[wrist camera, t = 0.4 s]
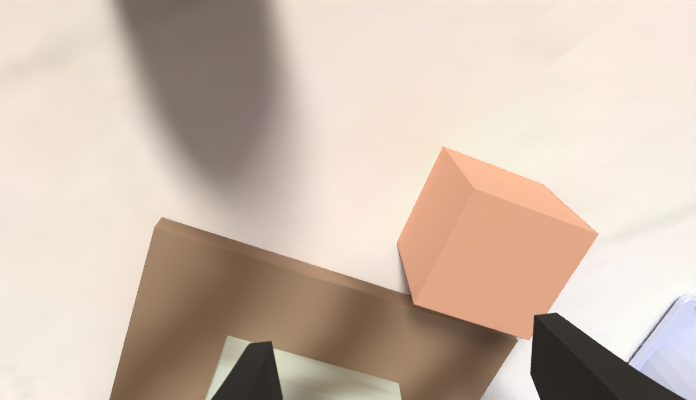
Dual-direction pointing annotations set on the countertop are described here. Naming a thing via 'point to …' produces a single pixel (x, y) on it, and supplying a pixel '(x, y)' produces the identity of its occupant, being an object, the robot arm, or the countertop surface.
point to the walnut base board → (290, 329)
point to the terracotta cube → (489, 245)
